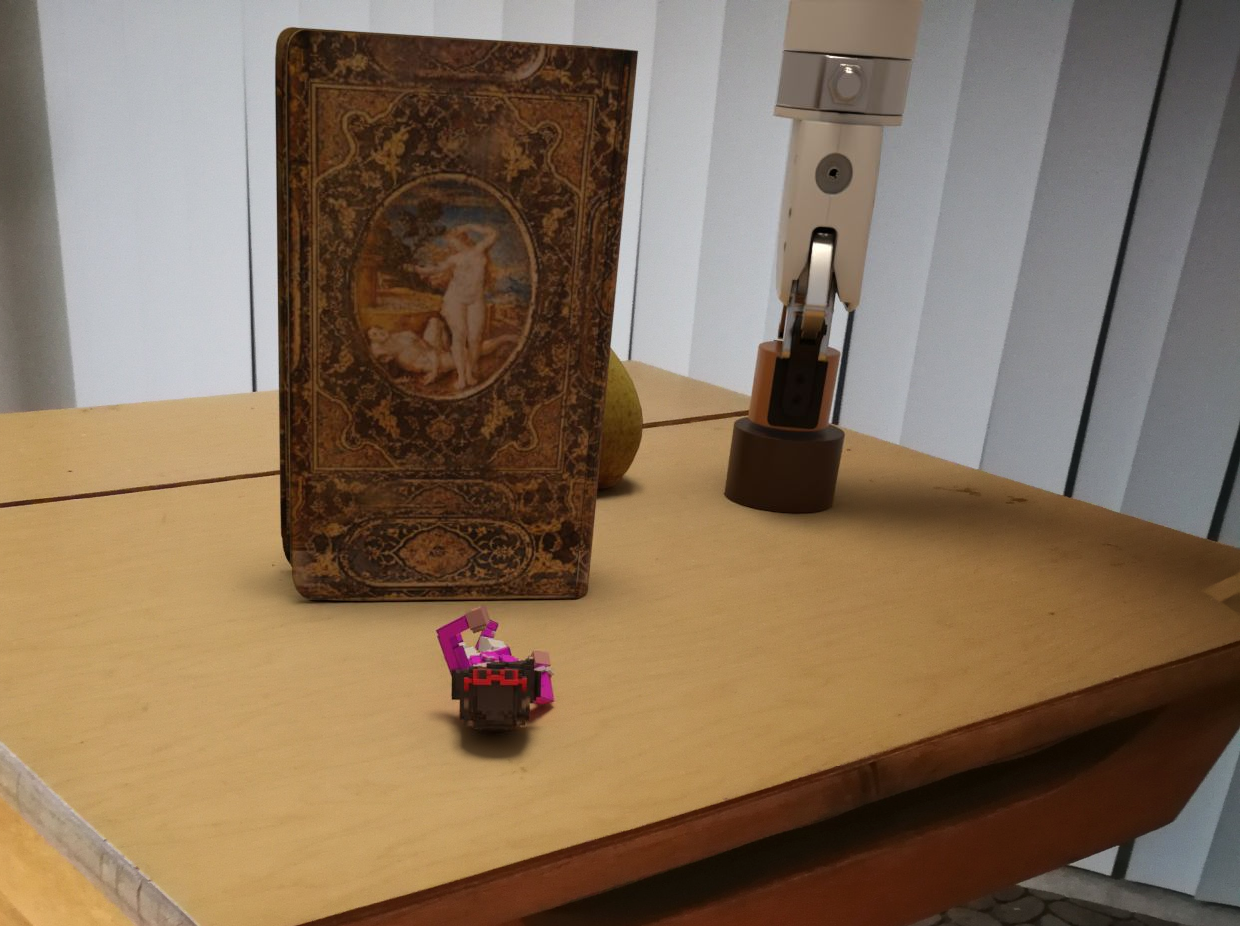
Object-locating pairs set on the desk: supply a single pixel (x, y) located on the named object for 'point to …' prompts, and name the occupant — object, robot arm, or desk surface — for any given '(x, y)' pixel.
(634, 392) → the fruit
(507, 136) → the book
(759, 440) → the cylinder
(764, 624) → the desk surface
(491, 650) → the character figurine
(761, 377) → the top cylinder
